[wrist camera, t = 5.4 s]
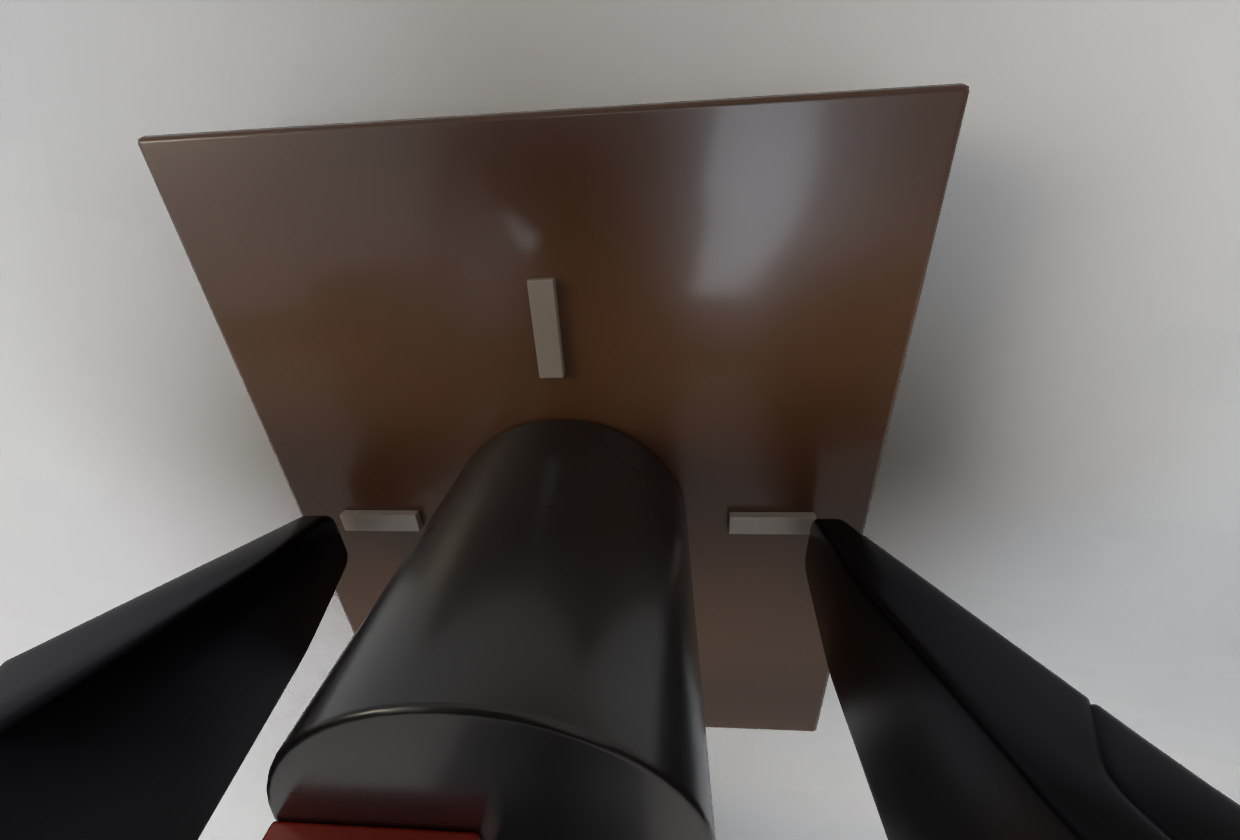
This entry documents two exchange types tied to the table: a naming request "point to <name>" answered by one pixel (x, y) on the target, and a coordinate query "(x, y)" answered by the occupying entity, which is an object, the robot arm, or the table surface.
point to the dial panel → (586, 321)
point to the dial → (519, 665)
